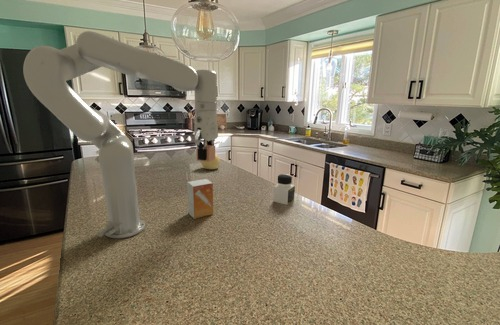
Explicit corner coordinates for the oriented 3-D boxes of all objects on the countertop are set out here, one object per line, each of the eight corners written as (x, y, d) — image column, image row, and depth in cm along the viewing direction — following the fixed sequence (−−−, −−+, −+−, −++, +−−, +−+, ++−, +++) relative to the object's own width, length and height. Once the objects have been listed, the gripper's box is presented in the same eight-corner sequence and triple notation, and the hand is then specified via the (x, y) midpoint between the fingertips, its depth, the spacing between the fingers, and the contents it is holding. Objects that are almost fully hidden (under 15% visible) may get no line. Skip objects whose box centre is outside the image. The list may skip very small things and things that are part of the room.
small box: (194, 219, 97) (192, 186, 94) (188, 213, 102) (186, 181, 99) (213, 214, 101) (213, 182, 98) (207, 208, 107) (206, 178, 103)
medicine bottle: (287, 205, 111) (289, 178, 108) (272, 201, 114) (273, 175, 112) (294, 200, 117) (295, 174, 114) (279, 196, 120) (281, 171, 117)
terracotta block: (209, 161, 92) (209, 147, 91) (196, 160, 93) (196, 146, 92) (215, 158, 97) (215, 145, 96) (203, 157, 98) (203, 144, 97)
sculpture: (212, 165, 174) (211, 149, 171) (223, 168, 166) (223, 152, 163) (197, 168, 166) (197, 151, 163) (209, 172, 158) (208, 154, 155)
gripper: (204, 108, 82) (204, 164, 86) (225, 107, 98) (224, 154, 102) (183, 107, 84) (184, 162, 88) (207, 106, 100) (207, 153, 104)
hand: (205, 157), depth 95 cm, fingers closed on terracotta block, 5 cm apart
